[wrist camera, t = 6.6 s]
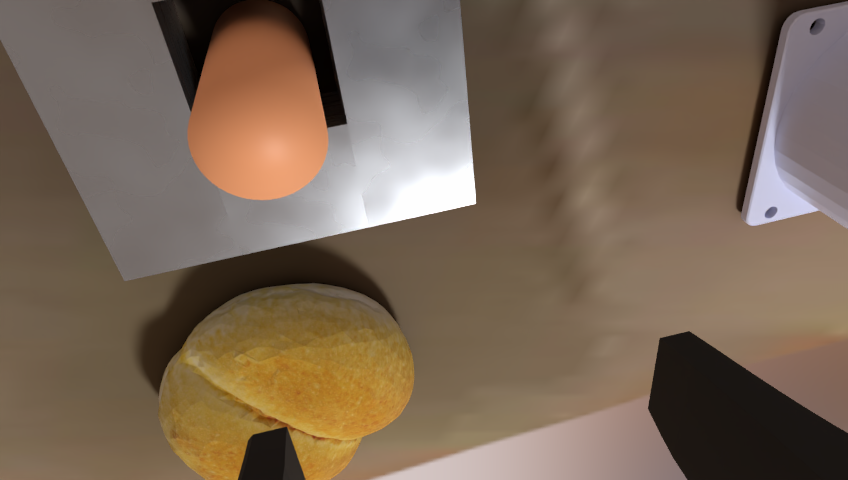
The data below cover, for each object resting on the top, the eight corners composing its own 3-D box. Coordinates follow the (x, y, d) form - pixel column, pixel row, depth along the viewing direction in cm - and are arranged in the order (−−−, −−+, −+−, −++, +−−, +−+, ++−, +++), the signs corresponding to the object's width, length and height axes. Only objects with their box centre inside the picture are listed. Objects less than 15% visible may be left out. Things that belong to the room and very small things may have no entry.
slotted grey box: (397, -400, 12) (464, -518, 8) (454, 165, 20) (503, 250, 16) (-131, -346, 11) (-357, -452, 7) (139, 232, 19) (105, 343, 15)
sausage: (288, -15, 16) (299, 54, 11) (323, 78, 17) (346, 175, 12) (193, 17, 16) (160, 101, 11) (236, 107, 17) (225, 216, 12)
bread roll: (444, 330, 24) (473, 407, 21) (303, 463, 26) (309, 551, 23) (271, 225, 20) (273, 301, 17) (121, 395, 22) (97, 490, 19)
